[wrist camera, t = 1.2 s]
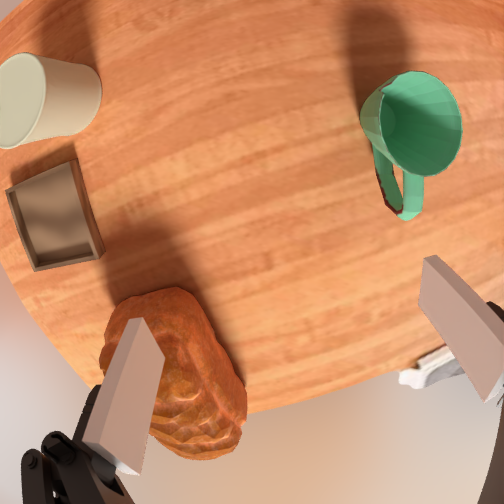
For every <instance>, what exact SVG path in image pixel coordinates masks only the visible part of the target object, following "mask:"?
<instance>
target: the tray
mask: <svg viewBox="0 0 504 504" xmlns="http://www.w3.org/2000/svg"><path fill="white" fill-rule="evenodd" d="M5 192H6V196H7V199H8V203H9V206H10V209H11V212H12V215H13V219H14V222H15V224H16V227H17V230H18V233H19V236H20V238H21V241H22V244H23V246H24V249H25V251H26V254H27V256H28V259H29V261H30V264H31V266H32V268H33V270H34V272H37V271H42V270H46V269H51V268H56V267H61V266H66V265H71V264H76V263H81V262H86V261H91V260H96V259H100V258H101V256H102V255H103V254H104V253H105V252H106V251H105V249H104V246H103V243H102V240H101V237H100V234H99V231H98V228H97V225H96V222H95V219H94V216H93V213H92V210H91V206H90V203H89V200H88V196H87V193H86V189H85V186H84V182H83V178H82V174H81V170H80V166H79V162H78V158H77V159H74V160H71V161H69V162H66V163H64V164H61V165H59V166H56V167H54V168H51V169H49V170H47V171H45V172H42V173H40V174H38V175H36V176H33V177H31V178H29V179H27V180H25V181H23V182H21V183H19V184H17V185H15V186H13V187H11V188H9V189H7V190H5Z"/></svg>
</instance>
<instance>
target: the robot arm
mask: <svg viewBox="0 0 504 504" xmlns="http://www.w3.org/2000/svg"><path fill="white" fill-rule="evenodd" d="M418 306H419V307H420V308H421V310H422V311H423V312H424V314H425V315H426V316H427V318H428V319H429V320H430V322H431V323H432V324H433V326H434V327H435V329H436V330H437V331H438V333H439V334H440V336H441V337H442V339H443V340H444V341H445V343H446V344H447V346H448V347H449V349H450V350H451V352H452V353H453V355H454V356H455V358H456V359H457V361H458V362H459V364H460V365H461V367H462V368H463V370H464V371H465V373H466V374H467V376H468V378H469V379H470V381H471V382H472V384H473V386H474V387H475V389H476V391H477V392H478V394H479V395H480V397H481V399H482V401H483V402H484V403H485V402H486V401H488V400H490V399H491V398H493V397H494V396H496V395H497V394H498V393H499V391H500V390H501V388H502V386H504V311H503V310H502V309H501V307H500V306H498V305H496V304H494V303H493V302H491V301H489V302H487V303H485V302H484V301H483V300H482V299H481V298H480V296H479V295H478V294H477V293H476V292H475V291H474V290H473V289H472V288H471V287H470V286H469V285H468V284H467V283H466V282H465V281H464V280H463V279H462V278H461V277H460V276H458V275H457V274H456V273H455V272H454V271H453V270H452V269H451V268H450V267H449V266H448V265H447V264H446V263H445V262H444V261H443V260H441V259H440V258H439V257H438V256H437V255H433V256H430V257H426V258H423V269H422V278H421V287H420V294H419V301H418ZM164 361H165V357H164V355H163V353H162V351H161V350H160V348H159V346H158V344H157V343H156V341H155V339H154V337H153V335H152V333H151V332H150V330H149V328H148V326H147V324H146V322H145V320H144V318H143V317H141V318H134V319H129V320H128V323H127V325H126V327H125V329H124V332H123V334H122V336H121V339H120V341H119V343H118V346H117V348H116V350H115V353H114V355H113V358H112V360H111V362H110V365H109V367H108V370H107V372H106V375H105V378H104V380H103V383H102V385H96V386H95V387H94V388H93V389H92V391H91V392H90V393H89V395H88V398H87V400H86V403H85V404H86V405H85V406H84V408H83V411H82V412H83V413H82V414H81V416H80V419H79V422H78V425H77V427H76V430H75V433H74V436H73V439H72V440H70V439H69V438H68V437H67V436H66V435H64V434H63V433H61V432H60V431H54V432H51V433H49V434H48V435H47V436H46V437H45V438H44V440H43V442H42V445H41V452H42V453H43V454H44V455H43V454H42V453H41V452H40V451H38V450H36V449H30V450H28V451H26V453H25V454H24V455H23V457H22V461H21V480H22V495H23V496H22V497H23V504H135V503H134V502H133V500H132V499H131V497H130V495H129V494H128V492H127V490H126V489H125V487H124V485H123V484H122V482H121V480H120V479H119V477H118V476H117V475H116V474H115V471H116V468H117V469H119V470H120V471H122V472H123V473H127V474H134V475H141V470H142V465H143V459H144V454H145V448H146V443H147V438H148V433H149V428H150V423H151V418H152V414H153V409H154V404H155V400H156V395H157V391H158V386H159V382H160V378H161V374H162V369H163V365H164ZM502 401H503V404H502V411H501V417H500V423H499V429H498V434H497V439H496V443H495V447H494V452H493V456H492V460H491V463H490V467H489V471H488V475H487V477H486V480H485V483H484V486H483V489H482V492H481V495H480V498H479V501H478V504H504V394H503V396H502V397H501V399H500V400H499V401H498V403H497V406H496V407H499V406H500V404H501V403H502ZM53 491H54V492H55V493H56V497H54V496H53Z"/></svg>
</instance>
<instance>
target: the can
mask: <svg viewBox="0 0 504 504" xmlns="http://www.w3.org/2000/svg"><path fill="white" fill-rule="evenodd" d="M101 98H102V86H101V82H100V79H99V76H98V75H97V73H96V72H95V71H94V70H93V69H92V68H91V67H89V66H87V65H85V64H75V63H70V62H66V61H61V60H57V59H52V58H47V57H43V56H38V55H34V54H31V53H27V52H23V53H18V54H15V55H13V56H11V57H10V58H8V59H7V60H6V61H5V62H4V63H3V64H2V65H1V66H0V148H3V149H11V148H14V147H17V146H19V145H22V144H26V143H30V142H34V141H38V140H42V139H47V138H52V137H57V136H70V135H74V134H77V133H79V132H80V131H82V130H83V129H85V128H86V127H87V126H88V125H89V124H90V123H91V122H92V120H93V119H94V117H95V116H96V114H97V112H98V109H99V106H100V103H101Z"/></svg>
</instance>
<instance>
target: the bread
mask: <svg viewBox="0 0 504 504" xmlns="http://www.w3.org/2000/svg"><path fill="white" fill-rule="evenodd" d="M141 317H143V318H144V320H145V322H146V324H147V326H148V328H149V330H150V332H151V333H152V335H153V337H154V339H155V341H156V343H157V344H158V346H159V348H160V350H161V351H162V353H163V355H164V357H165V361H164V365H163V369H162V374H161V378H160V382H159V386H158V391H157V395H156V400H155V404H154V409H153V414H152V418H151V423H150V428H149V434H150V435H152V436H154V437H155V438H156V439H157V440H158V441H159V442H160V443H161V444H162V445H164V446H165V447H166V448H168V449H169V450H171V451H173V452H174V453H176V454H177V455H179V456H181V457H183V458H186V459H192V460H210V459H215V458H218V457H220V456H222V455H225V454H227V453H230V452H232V451H233V450H234V449H235V447H236V446H237V445H238V442H239V440H240V437H241V435H242V431H241V428H240V427H241V426H242V425H243V424H244V423H245V422H246V416H247V392H246V390H245V388H244V386H243V384H242V382H241V380H240V379H239V378H238V376H237V375H236V374H235V372H234V369H233V366H232V363H231V360H230V359H229V357H228V355H227V353H226V352H225V350H224V348H223V347H222V346H221V345H220V344H219V343H218V342H217V340H216V337H215V334H214V330H213V328H212V326H211V324H210V322H209V320H208V318H207V316H206V314H205V312H204V311H203V309H202V308H201V306H200V305H199V303H198V301H197V300H196V298H195V297H194V295H192V294H191V293H189V292H187V291H185V290H183V289H181V288H179V287H172V288H166V289H161V290H157V291H154V292H151V293H148V294H144V295H139V296H132V297H130V298H128V299H126V300H124V301H122V302H121V303H119V305H118V306H117V307H116V309H115V310H114V311H113V313H112V315H111V317H110V320H109V322H108V325H107V328H106V331H105V333H104V337H105V345H104V347H103V348H102V351H101V354H100V357H99V364H100V369H102V370H103V373H104V377H105V375H106V372H107V370H108V367H109V365H110V362H111V360H112V358H113V355H114V353H115V350H116V348H117V346H118V343H119V341H120V339H121V336H122V334H123V332H124V329H125V327H126V325H127V323H128V320H129V319H134V318H141Z"/></svg>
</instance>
